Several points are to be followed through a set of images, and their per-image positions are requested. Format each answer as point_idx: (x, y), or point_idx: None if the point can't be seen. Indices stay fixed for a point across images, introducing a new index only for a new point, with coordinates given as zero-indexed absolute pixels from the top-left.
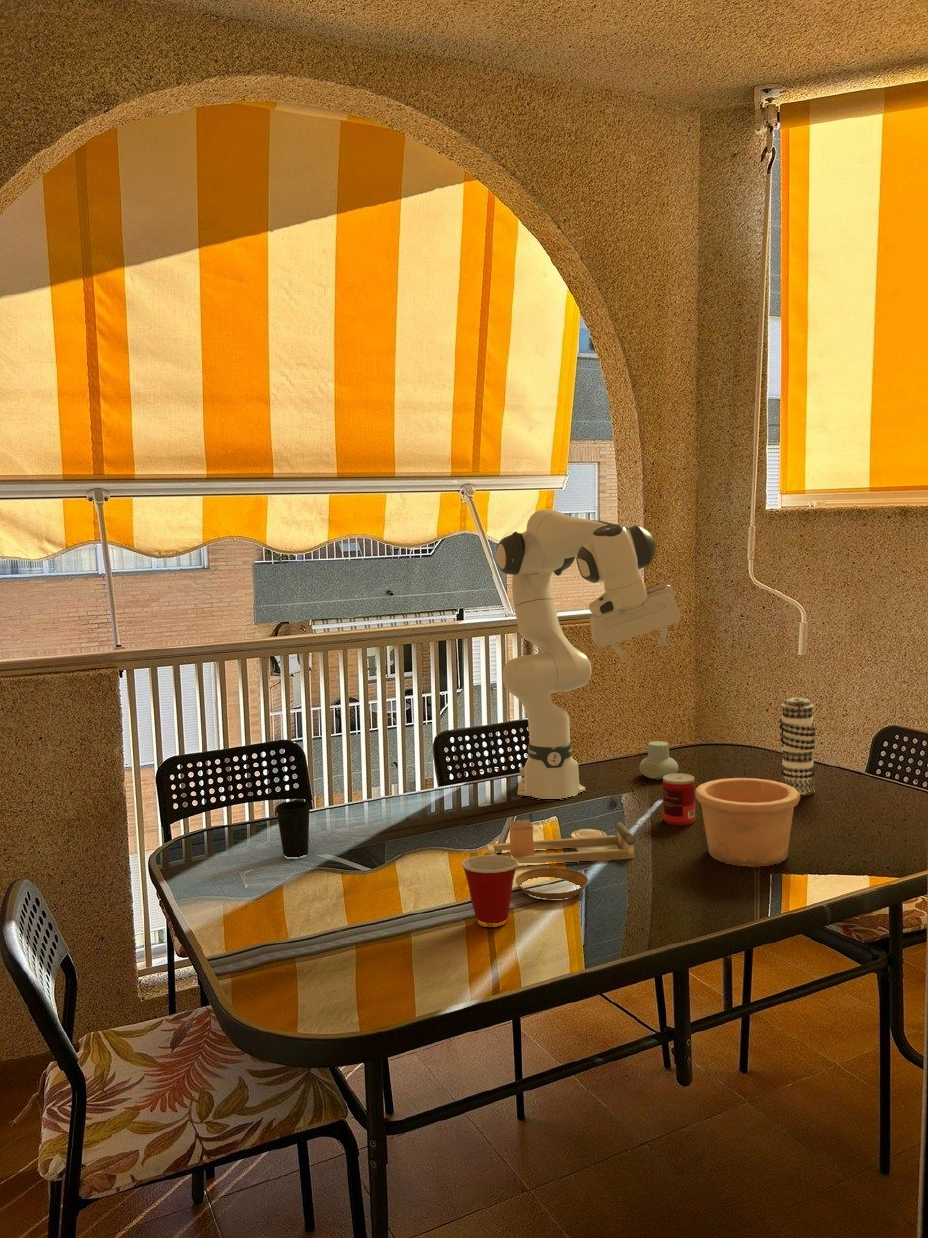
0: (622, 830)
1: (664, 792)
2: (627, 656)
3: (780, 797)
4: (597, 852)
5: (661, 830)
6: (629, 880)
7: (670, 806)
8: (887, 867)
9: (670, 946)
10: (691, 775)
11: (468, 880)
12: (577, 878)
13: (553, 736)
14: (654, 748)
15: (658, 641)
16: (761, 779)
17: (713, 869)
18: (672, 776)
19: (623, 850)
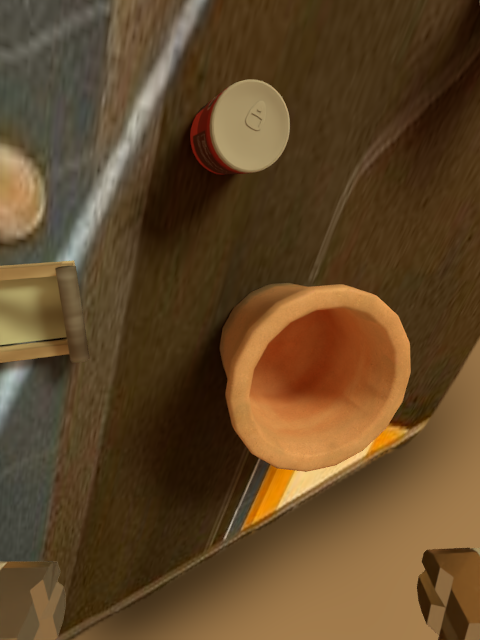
0: (66, 319)
1: (203, 139)
2: (57, 634)
3: (380, 353)
4: (8, 361)
5: (170, 193)
6: (63, 441)
7: (206, 161)
8: (416, 398)
9: (87, 623)
10: (288, 114)
11: None
12: None
13: None
14: None
15: (452, 624)
16: (385, 310)
17: (207, 399)
18: (242, 98)
19: (64, 354)
